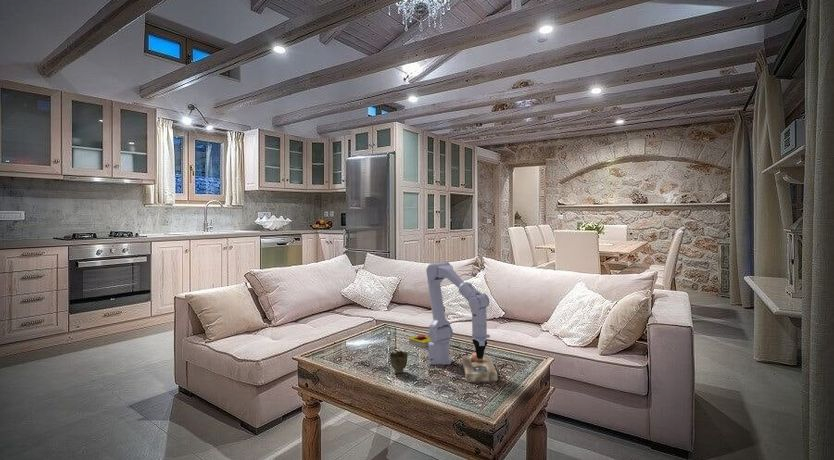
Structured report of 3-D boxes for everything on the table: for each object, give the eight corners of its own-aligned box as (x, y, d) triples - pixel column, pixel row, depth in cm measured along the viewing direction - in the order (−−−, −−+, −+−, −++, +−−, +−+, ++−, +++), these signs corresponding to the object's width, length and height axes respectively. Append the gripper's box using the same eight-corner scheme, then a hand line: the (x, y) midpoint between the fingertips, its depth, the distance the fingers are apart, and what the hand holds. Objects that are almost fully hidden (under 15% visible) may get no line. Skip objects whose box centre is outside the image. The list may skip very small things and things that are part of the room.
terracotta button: (472, 363, 167) (472, 356, 167) (471, 359, 172) (471, 352, 172) (483, 363, 167) (482, 356, 167) (481, 359, 172) (481, 352, 171)
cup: (394, 377, 160) (394, 357, 160) (387, 371, 167) (386, 352, 167) (411, 373, 164) (410, 354, 164) (403, 367, 170) (403, 349, 170)
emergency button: (418, 331, 211) (439, 337, 200) (419, 339, 211) (439, 345, 200) (406, 335, 204) (426, 341, 193) (406, 343, 204) (427, 350, 194)
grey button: (475, 377, 157) (475, 370, 157) (474, 373, 162) (474, 366, 162) (486, 377, 157) (486, 370, 157) (485, 373, 162) (484, 365, 162)
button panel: (466, 381, 155) (466, 374, 155) (462, 362, 175) (462, 356, 175) (497, 381, 154) (497, 373, 154) (489, 362, 174) (489, 355, 174)
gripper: (492, 329, 152) (492, 364, 152) (486, 319, 166) (487, 351, 166) (473, 329, 152) (474, 364, 152) (469, 319, 166) (470, 352, 167)
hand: (479, 358), depth 159 cm, fingers closed
